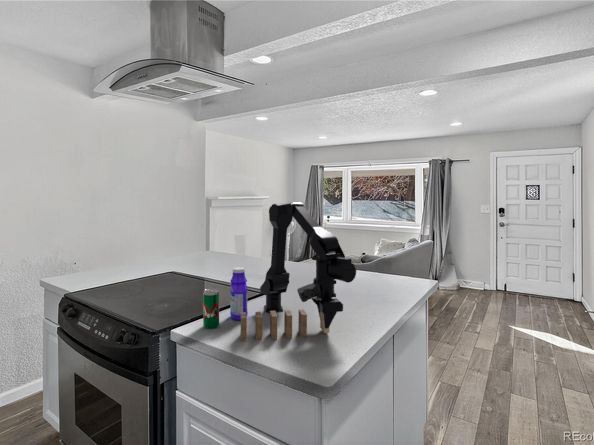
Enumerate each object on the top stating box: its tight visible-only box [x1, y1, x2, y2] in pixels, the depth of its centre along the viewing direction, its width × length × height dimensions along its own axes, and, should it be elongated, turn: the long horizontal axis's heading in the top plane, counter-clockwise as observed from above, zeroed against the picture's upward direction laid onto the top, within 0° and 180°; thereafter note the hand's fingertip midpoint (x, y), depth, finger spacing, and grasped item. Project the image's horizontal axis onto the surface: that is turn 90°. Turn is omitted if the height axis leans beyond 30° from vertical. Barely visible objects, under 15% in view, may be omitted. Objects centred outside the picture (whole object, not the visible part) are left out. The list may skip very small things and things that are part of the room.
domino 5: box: [297, 308, 308, 338], centre depth 109 cm, size 5×2×7 cm, turn 11°
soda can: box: [202, 288, 220, 330], centre depth 114 cm, size 5×5×12 cm
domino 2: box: [254, 310, 263, 341], centre depth 106 cm, size 5×2×7 cm, turn 11°
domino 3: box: [269, 311, 278, 340], centre depth 107 cm, size 5×2×7 cm, turn 11°
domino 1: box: [240, 312, 248, 342], centre depth 105 cm, size 5×2×7 cm, turn 11°
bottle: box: [229, 266, 248, 321], centre depth 122 cm, size 7×6×17 cm
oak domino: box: [319, 311, 330, 334], centre depth 110 cm, size 5×2×7 cm, turn 11°
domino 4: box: [283, 309, 293, 339], centre depth 108 cm, size 5×2×7 cm, turn 11°
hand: (324, 325), depth 110 cm, fingers closed on oak domino, 5 cm apart
